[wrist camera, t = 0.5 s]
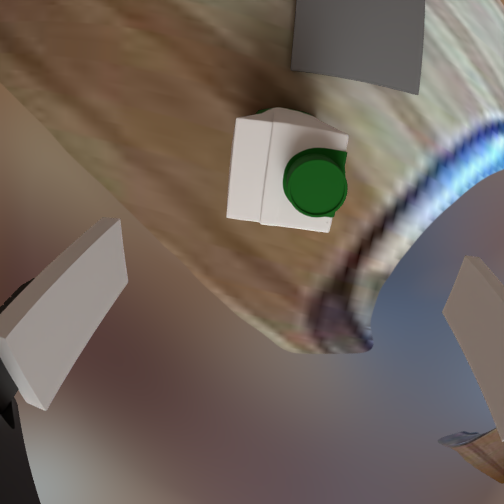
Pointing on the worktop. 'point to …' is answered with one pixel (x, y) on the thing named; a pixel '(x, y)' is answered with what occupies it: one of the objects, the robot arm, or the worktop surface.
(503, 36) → the worktop surface
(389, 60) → the charcoal mat
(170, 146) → the worktop surface
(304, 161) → the soya milk
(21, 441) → the robot arm
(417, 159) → the worktop surface
